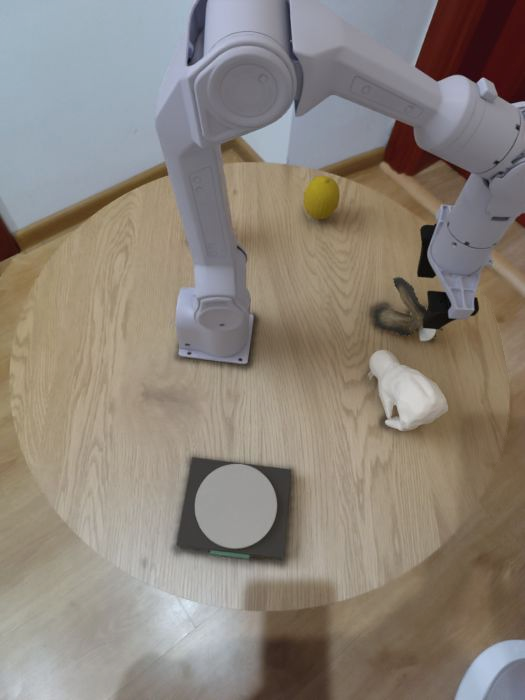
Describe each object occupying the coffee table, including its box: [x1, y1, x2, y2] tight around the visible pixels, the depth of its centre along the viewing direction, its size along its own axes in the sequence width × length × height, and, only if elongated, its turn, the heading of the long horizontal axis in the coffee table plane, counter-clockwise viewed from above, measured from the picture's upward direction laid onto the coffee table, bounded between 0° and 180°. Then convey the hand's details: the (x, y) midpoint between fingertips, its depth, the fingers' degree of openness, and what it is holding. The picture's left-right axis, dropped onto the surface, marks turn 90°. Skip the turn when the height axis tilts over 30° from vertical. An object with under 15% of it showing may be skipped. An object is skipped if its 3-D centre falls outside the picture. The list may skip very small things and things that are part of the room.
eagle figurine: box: [372, 276, 444, 342], centre depth 71 cm, size 8×7×9 cm
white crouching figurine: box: [366, 349, 449, 432], centre depth 65 cm, size 6×8×12 cm
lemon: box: [302, 175, 341, 220], centre depth 79 cm, size 6×6×8 cm
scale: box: [176, 456, 292, 561], centre depth 59 cm, size 12×10×3 cm
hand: (427, 300), depth 64 cm, fingers open, 7 cm apart
